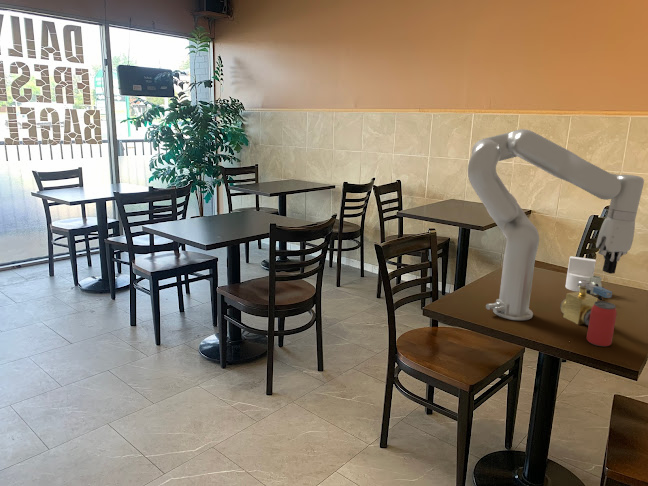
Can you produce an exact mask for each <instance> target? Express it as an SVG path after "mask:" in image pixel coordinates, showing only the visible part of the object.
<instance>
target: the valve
mask: <svg viewBox="0 0 648 486" xmlns="http://www.w3.org/2000/svg"><path fill="white" fill-rule="evenodd" d="M590 282H591V284H593V285H595V286H600V287H602V288H605V287H604V286H602V276H599V275H593V276H591V281H590ZM586 293H587V294H589V295H592V296H594V297H596V298H598V301H603V297H602V296H600V295H598V294H595V293H593V291H591V290H587V291H586Z"/></svg>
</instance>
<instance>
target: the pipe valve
mask: <svg viewBox="0 0 648 486" xmlns="http://www.w3.org/2000/svg"><path fill="white" fill-rule="evenodd" d="M586 291H587V289H586V288H581V287H580V290H579V292H576V291H572V292H567V293H566V296H565V298H564V299H563V300H562V301H561V302H560V311H561V313H562V314H563V318H564V319H566V320H568V321H570V322H572V323H574V324H576V325H586V326H589V320H590V314H591V309H592V307H593V305H594V303H595V302H597V301H599V299H598V298H596V297H597V296H596V297H594V295H593V294H591V295H589V293H586Z"/></svg>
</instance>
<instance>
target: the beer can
mask: <svg viewBox="0 0 648 486" xmlns="http://www.w3.org/2000/svg"><path fill="white" fill-rule="evenodd" d="M616 308H617V307H616V305H615V304H614V303H611V302H609V301H608V302H607V301H603V300H601V301H600V300H598V301H597V302H595V303H594V305H593V307H592V309H591V314H590V320H589V326H588V325H587V326H588V327H587V332H586V341H587V342H588V343H590V344H591V345H593V346H597V347H609V346H611V345H612V342H613V338H614V332H615V327H616V326H615V325H616V320H617V309H616Z"/></svg>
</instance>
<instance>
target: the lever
mask: <svg viewBox="0 0 648 486" xmlns="http://www.w3.org/2000/svg"><path fill="white" fill-rule="evenodd" d="M577 286H578V287H581V288H586V289H588V290H591V291H593V293H595V294H598V295H597V296H601V297H602V298H607V299H608V298H610V299H611V298H612V296H613V291H611V290H610V289H607V288H605V287H604V288H602V287H603V286H601V287H600V286H595V285H593V284H591V282H589V281H586V280H579V281H578V285H577Z"/></svg>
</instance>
